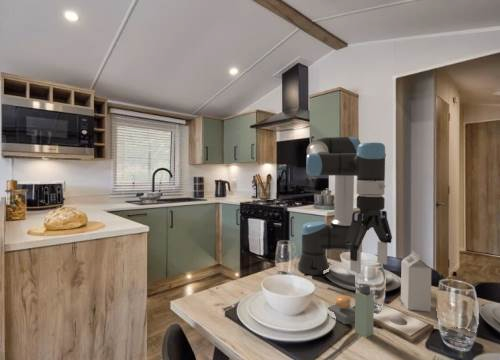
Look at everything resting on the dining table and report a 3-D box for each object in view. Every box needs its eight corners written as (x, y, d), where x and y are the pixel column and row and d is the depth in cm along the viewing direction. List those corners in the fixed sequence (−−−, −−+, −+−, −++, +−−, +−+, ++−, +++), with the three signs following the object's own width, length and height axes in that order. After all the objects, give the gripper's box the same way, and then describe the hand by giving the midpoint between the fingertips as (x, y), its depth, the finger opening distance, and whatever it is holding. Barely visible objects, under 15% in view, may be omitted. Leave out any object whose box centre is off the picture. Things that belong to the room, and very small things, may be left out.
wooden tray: (354, 313, 88) (354, 308, 88) (377, 303, 96) (377, 298, 95) (411, 343, 73) (411, 336, 73) (433, 328, 80) (433, 322, 80)
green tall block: (354, 331, 78) (355, 284, 78) (362, 327, 80) (362, 282, 80) (365, 338, 75) (366, 289, 75) (373, 334, 77) (373, 286, 77)
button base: (327, 315, 88) (327, 307, 87) (341, 309, 91) (341, 302, 91) (344, 325, 82) (345, 317, 82) (358, 318, 85) (359, 311, 85)
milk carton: (421, 302, 97) (422, 251, 96) (430, 312, 90) (431, 257, 89) (400, 300, 98) (401, 249, 98) (407, 310, 91) (408, 255, 91)
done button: (333, 303, 87) (333, 297, 87) (341, 300, 89) (341, 294, 89) (344, 309, 83) (344, 303, 83) (353, 305, 86) (353, 299, 86)
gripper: (355, 198, 68) (354, 280, 68) (405, 195, 82) (404, 263, 82) (332, 196, 74) (331, 271, 74) (381, 193, 88) (380, 257, 88)
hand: (369, 267), depth 78 cm, fingers open, 13 cm apart
